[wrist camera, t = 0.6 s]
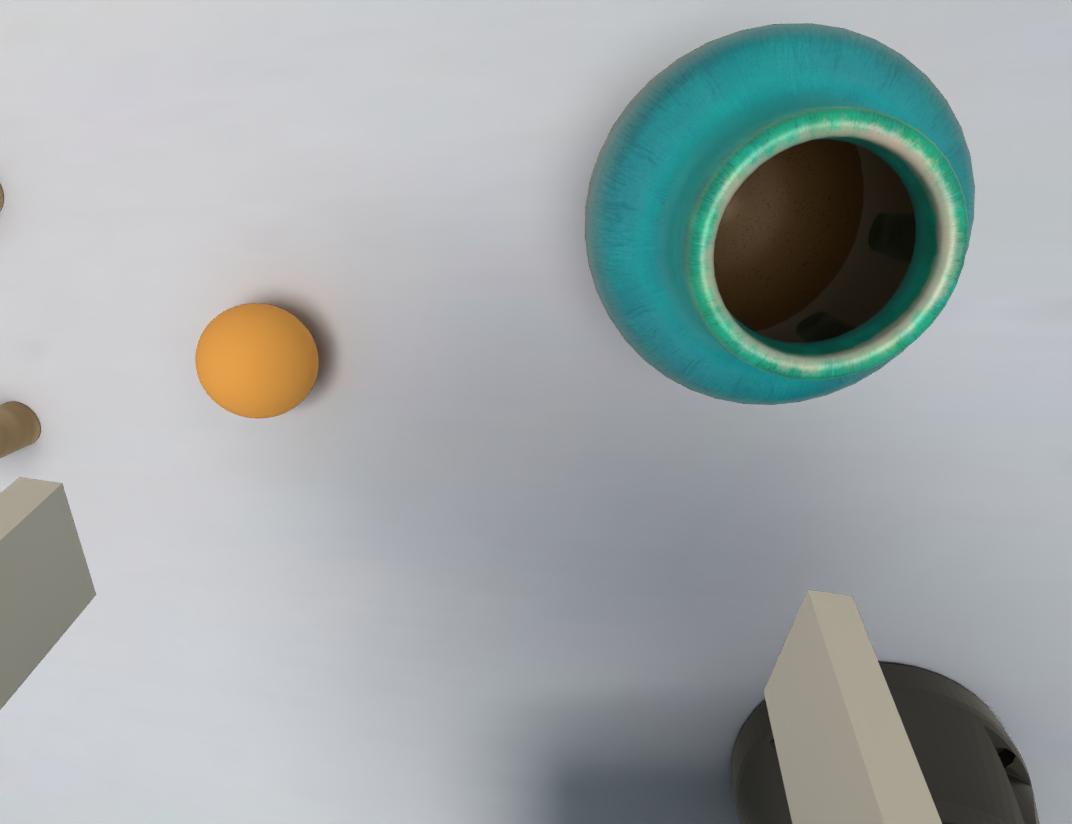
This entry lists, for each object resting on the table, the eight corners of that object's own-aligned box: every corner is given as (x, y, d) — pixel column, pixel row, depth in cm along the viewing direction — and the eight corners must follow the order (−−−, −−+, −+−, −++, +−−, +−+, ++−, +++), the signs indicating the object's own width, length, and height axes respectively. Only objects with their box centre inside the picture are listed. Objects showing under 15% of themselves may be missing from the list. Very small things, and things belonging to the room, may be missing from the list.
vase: (562, 266, 34) (481, 380, 16) (661, 33, 30) (705, -169, 12) (766, 357, 34) (919, 572, 16) (890, 135, 30) (1271, 88, 12)
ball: (336, 404, 37) (289, 441, 32) (237, 391, 38) (175, 426, 33) (335, 300, 36) (285, 323, 30) (231, 288, 36) (164, 309, 31)
